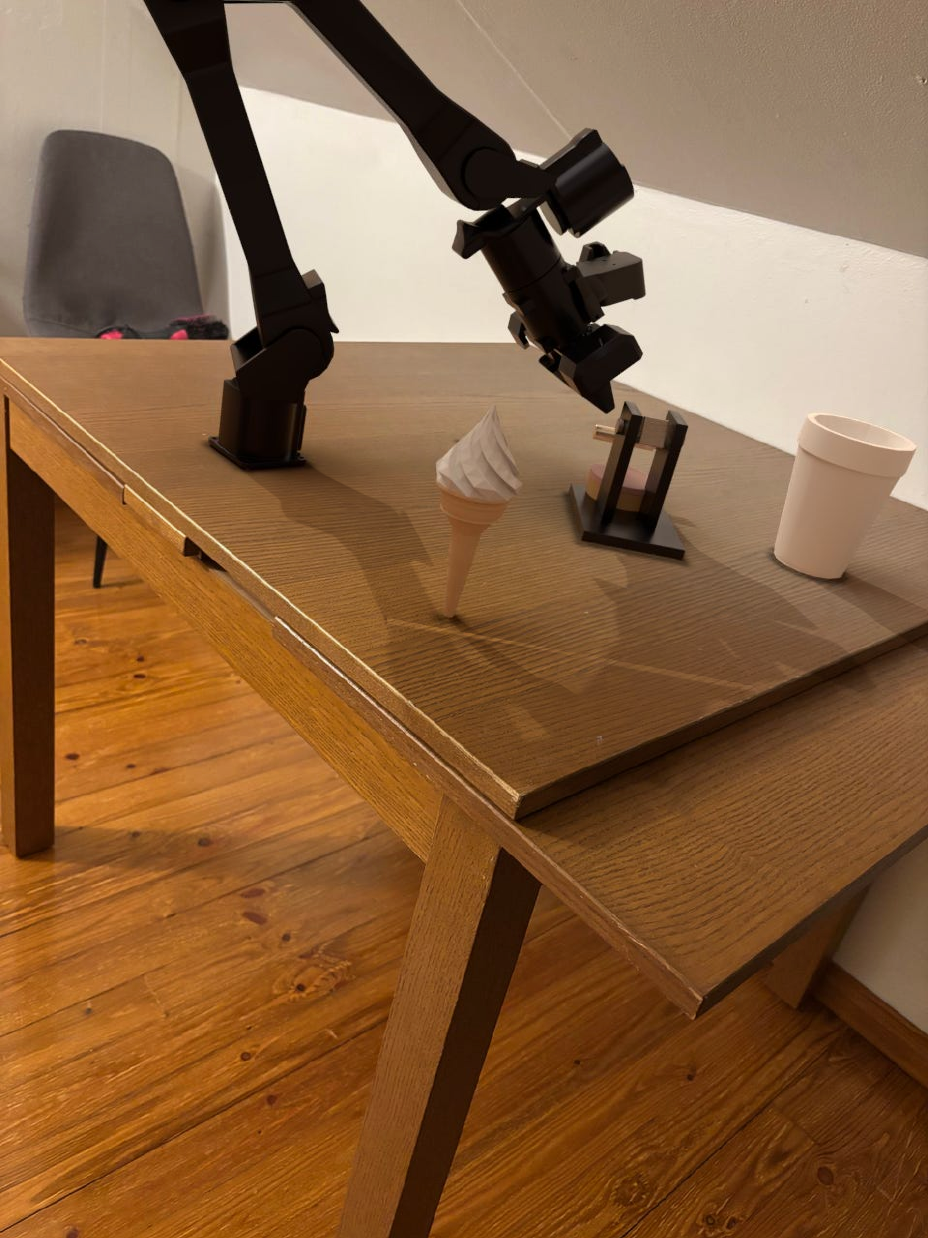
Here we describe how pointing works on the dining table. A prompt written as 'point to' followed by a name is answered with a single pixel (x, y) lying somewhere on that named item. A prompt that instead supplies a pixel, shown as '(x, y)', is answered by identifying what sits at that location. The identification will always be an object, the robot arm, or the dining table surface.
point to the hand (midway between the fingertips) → (609, 410)
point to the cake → (630, 489)
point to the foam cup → (837, 491)
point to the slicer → (651, 522)
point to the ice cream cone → (474, 496)
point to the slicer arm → (639, 433)
